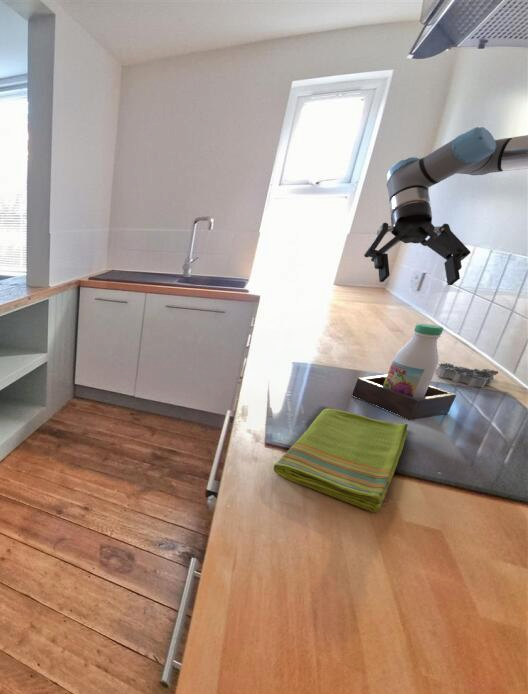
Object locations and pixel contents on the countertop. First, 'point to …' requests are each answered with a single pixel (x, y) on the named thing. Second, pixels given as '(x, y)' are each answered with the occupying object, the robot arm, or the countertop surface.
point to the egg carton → (466, 375)
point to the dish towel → (346, 457)
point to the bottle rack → (403, 399)
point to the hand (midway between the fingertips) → (418, 280)
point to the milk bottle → (415, 362)
